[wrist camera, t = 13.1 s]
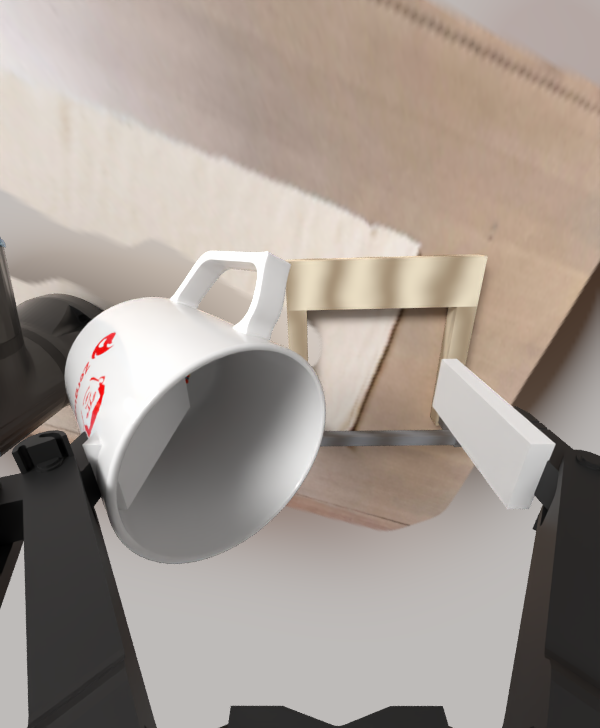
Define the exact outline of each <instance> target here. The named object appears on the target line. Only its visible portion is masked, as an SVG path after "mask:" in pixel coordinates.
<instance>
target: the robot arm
mask: <svg viewBox="0 0 600 728" xmlns="http://www.w3.org/2000/svg"><path fill="white" fill-rule="evenodd" d="M4 247H6V245H5V243H4V241H3V240H2V239H1V238H0V457H1V456H2V455H3V454H5V453H6V452H7V451H8V450H9V449H11V448H12V447H13V446H15V445H16V444H17V443H19V442H20V441H21V440H22V439H24V438H25V437H26V436H27V435H29V434H30V433H31V432H33V431H34V430H35V429H37V428H38V427H39V426H40V425H42V424H43V423H44V422H46V421H47V420H48V419H49V418H51V417H52V416H53V415H55V414H56V413H57V412H58V411H60V410H61V409H62V408H64V407H65V406H68V405H70V402H69V399H68V396H67V392H66V387H65V377H64V376H65V366H66V360H67V357H68V354H69V351H70V349H71V347H72V345H73V343H74V341H75V339H76V338H77V336H78V335H79V333H80V332H81V331H82V330H83V328H84V327H85V326H86V325H87V324H88V323H89V322H90V321H91V320H93V319H94V318H95V317H96V316H97V315H99V314H100V313H102V311H101V310H100V309H98V308H97V307H95V306H94V305H92V304H91V303H89V302H87V301H85V300H82V299H80V298H77V297H74V296H70V295H65V294H48V295H44V296H40V297H36V298H33V299H30V300H27V301H25V302H23V303H21V304H20V305H18V306H17V307H16V302H15V298H14V293H13V288H12V284H11V279H10V274H9V270H8V265H7V260H6V257H5V251H4ZM432 406H433V408H434V409H435V410H436V412H437V413H438V415H439V416H440V417H441V419H442V420H443V421H444V423H445V424H446V426H447V427H448V428H449V430H450V431H451V433H452V434H453V435H454V437H455V438H456V439H457V441H458V442H459V444H460V445H461V446H462V448H463V449H464V451H465V452H466V453H467V455H468V456H469V457H470V459H471V460H472V462H473V463H474V464H475V466H476V467H477V469H478V470H479V471H480V473H481V474H482V475H483V477H484V478H485V480H486V481H487V482H488V484H489V485H490V486H491V488H492V489H493V491H494V492H495V493H496V495H497V496H498V498H499V499H500V500H501V502H502V503H503V505H504V506H505V507H506V509H529V508H530V505H531V503H532V500H533V498H534V496H536V497H537V498H538V500H539V501H540V502H541V503H542V504H543V506H542V508H541V511H540V513H539V515H538V518H537V520H536V522H535V524H534V527H533V529H534V530H536V536H535V542H534V548H533V554H532V559H531V566H530V571H529V578H528V583H527V589H526V595H525V601H524V608H523V612H522V618H521V624H520V630H519V636H518V642H517V648H516V654H515V660H514V665H513V671H512V677H511V683H510V689H509V695H508V701H507V707H506V713H505V718H504V723H503V727H502V728H600V456H598V455H596V454H593V453H591V452H587V451H582V450H573V449H572V448H571V447H570V446H568V445H567V444H566V443H565V442H563V441H562V440H561V439H560V438H559V437H557V436H556V435H555V434H554V433H553V432H551V431H550V430H547V427H545V426H544V425H543V424H542V423H539V421H538V420H537V419H536V418H535V417H533V416H532V415H531V414H530V413H528V412H526V411H524V410H522V409H520V408H518V407H516V406H515V407H512V406H511V405H510V404H509V403H507V402H506V401H505V400H504V399H503V398H502V397H501V396H499V395H498V394H497V393H496V392H495V391H494V390H492V389H491V388H490V387H489V386H488V385H487V384H485V383H484V382H483V381H482V380H481V379H480V378H479V377H477V376H476V375H475V374H474V373H473V372H472V371H470V370H469V369H468V368H467V367H466V366H465V365H463V364H462V363H461V362H460V361H459V360H458V359H442V360H441V365H440V370H439V375H438V380H437V385H436V390H435V395H434V400H433V405H432ZM189 408H190V404H189V398H188V392H187V386H186V381H185V378H184V379H182V380H181V381H180V382H178V383H177V384H176V385H175V386H174V387H173V388H171V389H170V390H169V391H168V392H167V393H166V394H165V395H164V396H163V397H162V398H161V399H160V400H159V401H158V402H157V403H156V404H155V406H154V407H153V408H152V409H151V410H150V411H149V413H148V414H147V415H146V417H145V418H144V420H143V421H142V422H141V424H140V425H139V427H138V429H137V430H136V432H135V434H134V435H133V437H132V439H131V441H130V443H129V445H128V447H127V450H126V452H125V455H124V457H123V460H122V463H121V467H120V471H119V475H118V482H117V505H118V508H119V509H128V508H129V506H130V505H131V503H132V501H133V500H134V498H135V496H136V495H137V493H138V491H139V490H140V488H141V487H142V485H143V483H144V482H145V480H146V478H147V477H148V475H149V473H150V472H151V470H152V468H153V467H154V465H155V463H156V462H157V460H158V459H159V457H160V455H161V454H162V452H163V450H164V449H165V447H166V445H167V444H168V442H169V440H170V439H171V437H172V435H173V434H174V432H175V431H176V429H177V427H178V426H179V424H180V422H181V421H182V419H183V417H184V416H185V414H186V412H187V411H188V409H189ZM101 446H102V444H101V442H100V439H99V437H98V435H97V432H95V433H94V434H93V435H92V436H91V437H90V438H89V439H88V437H87V434H86V432H83V433H82V434H81V435H80V436H79V437H78V438H77V439H76V440H74V441H73V442H72V443H71V444H70V443H69V440H68V438H67V435H66V434H65V433H64V432H63V431H58V430H55V431H46V432H42V433H38V434H36V435H33V436H31V437H28V438H27V439H25V440H23V441H22V442H20V443H19V444H18V445H17V446H15V447H14V449H13V451H12V454H13V457H14V459H15V461H16V463H17V465H18V467H19V469H20V471H21V473H20V474H15V475H10V476H5V477H1V478H0V608H1V605H2V602H3V599H4V596H5V593H6V590H7V587H8V585H9V582H10V579H11V576H12V573H13V570H14V567H15V564H16V561H17V559H18V556H19V553H20V550H21V546H22V544H23V541H24V560H25V596H26V597H25V599H26V635H27V674H28V707H29V708H28V711H29V719H28V727H27V728H157V727H156V724H155V720H154V717H153V714H152V710H151V706H150V703H149V699H148V696H147V692H146V689H145V685H144V682H143V678H142V674H141V671H140V667H139V664H138V661H137V657H136V653H135V649H134V646H133V642H132V639H131V636H130V632H129V628H128V625H127V621H126V617H125V614H124V610H123V607H122V603H121V600H120V596H119V593H118V589H117V585H116V582H115V578H114V575H113V571H112V568H111V564H110V561H109V557H108V554H107V550H106V546H105V543H104V539H103V535H102V532H101V528H100V525H99V521H98V518H97V514H96V511H95V509H94V506H95V504H96V503H97V501H98V500H99V499H100V497H101V494H100V491H99V488H98V483H97V477H96V465H97V459H98V454H99V452H100V449H101ZM101 498H102V497H101ZM102 501H103V500H102ZM103 504H104V502H103ZM104 507H105V505H104ZM105 509H106V508H105ZM220 728H452V727H450V726H448V722H447V719H446V716H445V712H444V709H443V706H390V707H387V708H385V709H382V710H380V711H377V712H375V713H372V714H370V715H368V716H365V717H363V718H360V719H358V720H355V721H353V722H350V723H348V724H345V725H342V726H334V725H331V724H328V723H326V722H323V721H320V720H318V719H315V718H313V717H310V716H307V715H305V714H302V713H300V712H297V711H295V710H292V709H289V708H287V707H284V706H231V709H230V716H229V723H228V724H227V725H225V726H222V727H220Z"/></svg>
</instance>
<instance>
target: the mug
mask: <svg viewBox="0 0 600 728" xmlns="http://www.w3.org/2000/svg"><path fill="white" fill-rule="evenodd" d="M290 267H291V264H290V263H289V262H287V261H285V260H283V259H281V258H279V257H277V256H276V255H274V254H272V253H270V252H268V251H266V252H232V251H208V252H206V253H204V254H203V255H202V256H201V257H200V258H199V259H198V260H197V262H196V263H195V265H194V266H193V268H192V269H191V271H190V272H189V274H188V275H187V277H186V278H185V280H184V281H183V283H182V284H181V286H180V287H179V289H178V290H177V291H176V293H175V294H174V295H173V296H172V297H171V298H163V297H144V298H137V299H132V300H128V301H125V302H122V303H119V304H117V305H115V306H112V307H110V308H109V309H107V310H105V311H103V312H102V313H100V314H99V315H97V316H96V317H95V318H94V319H93V320H91V321H90V322H89V323H88V324H87V325H86V326H85V327H84V328H83V330H82V331H81V332H80V333H79V335H78V336H77V338H76V339H75V341H74V343H73V345H72V347H71V349H70V351H69V354H68V357H67V360H66V366H65V376H64V377H65V387H66V392H67V396H68V399H69V402H70V405H71V408H72V411H73V414H74V417H75V420H76V423H77V426H78V428H79V431H80V434H82V433H83V432H86V434H87V437H88V439H89V438H90V437H91V436H92V435H93V434H94V433H95V432H97V435H98V437H99V439H100V442H101V444H102V446H101V449H100V452H99V454H98V459H97V465H96V477H97V483H98V488H99V491H100V494H101V497H102V500H103V502H104V505H105V508H106V511H107V514H108V517H109V520H110V523H111V526H112V527H113V530H114V531H115V533H116V535H117V537H118V538H119V539H120V540H121V542H122V543H123V544H124V545H125V546H126V547H127V548H129V549H130V550H131V551H132V552H134V553H135V554H137V555H139V556H141V557H143V558H146V559H148V560H151V561H155V562H159V563H167V564H182V563H190V562H196V561H200V560H203V559H207V558H210V557H213V556H216V555H218V554H221V553H223V552H225V551H228V550H229V549H231V548H233V547H235V546H237V545H239V544H240V543H242V542H244V541H245V540H247V539H248V538H250V537H251V536H253V535H254V534H255V533H257V532H258V531H259V530H261V529H262V528H263V527H264V526H265V525H266V524H268V523H269V522H270V521H271V520H272V519H273V518H274V517H275V516H276V515H277V514H278V513H279V512H280V511H281V510H282V509H283V508H284V507H285V506H286V504H287V503H288V502H289V501H290V500H291V498H292V497H293V496H294V495H295V493H296V492H297V490H298V489H299V487H300V486H301V485H302V483H303V481H304V480H305V478H306V476H307V475H308V473H309V471H310V469H311V467H312V465H313V463H314V461H315V458H316V456H317V453H318V451H319V448H320V445H321V441H322V437H323V433H324V427H325V419H326V404H325V396H324V392H323V388H322V385H321V382H320V380H319V378H318V376H317V374H316V372H315V371H314V369H313V368H312V366H311V365H310V364H309V363H308V362H307V361H306V360H305V359H304V358H303V357H302V356H300V355H299V354H297V353H296V352H294V351H292V350H290V349H288V348H286V347H284V346H282V345H279V344H277V343H275V342H273V341H270V338H271V333H272V330H273V328H274V326H275V324H276V322H277V321H278V318H279V317H280V314H281V311H282V307H283V303H284V297H285V290H286V283H287V278H288V274H289V270H290ZM229 269H238V270H247V271H256V272H257V282H256V288H255V292H254V296H253V300H252V303H251V305H250V308H249V310H248V312H247V314H246V315H245V317H244V318H243V319H242V320H241V321H240V322H239V323H238V324H236V325H234V324H232V323H230V322H227V321H225V320H223V319H220V318H218V317H216V316H214V315H212V314H209V313H207V312H205V311H202V310H200V309H198V305H199V303H200V302H201V300H202V299H203V297H204V296H205V295H206V293H207V292H208V291H209V289H210V288H211V287H212V285H213V284H214V283H215V282H216V280H217V279H218V278H219V276H220V275H221V274H222V273H224V272H225V271H226V270H229ZM184 378H185V381H186V386H187V392H188V398H189V404H190V408H189V409H188V411H187V412H186V414H185V416H184V417H183V419H182V421H181V422H180V424H179V426H178V427H177V429H176V431H175V432H174V434H173V435H172V437H171V439H170V440H169V442H168V444H167V445H166V447H165V449H164V450H163V452H162V454H161V455H160V457H159V459H158V460H157V462H156V463H155V465H154V467H153V468H152V470H151V472H150V473H149V475H148V477H147V478H146V480H145V482H144V483H143V485H142V487H141V488H140V490H139V491H138V493H137V495H136V496H135V498H134V500H133V501H132V503H131V505H130V506H129V508H128V509H119V508H118V505H117V482H118V475H119V471H120V467H121V463H122V460H123V457H124V455H125V452H126V450H127V447H128V445H129V443H130V441H131V439H132V437H133V435H134V434H135V432H136V430H137V429H138V427H139V425H140V424H141V422H142V421H143V420H144V418H145V417H146V415H147V414H148V413H149V411H150V410H151V409H152V408H153V407H154V406H155V404H156V403H157V402H158V401H159V400H160V399H161V398H162V397H163V396H164V395H165V394H166V393H167V392H168V391H169V390H170V389H171V388H173V387H174V386H175V385H176V384H177V383H178V382H180V381H181V380H182V379H184Z"/></svg>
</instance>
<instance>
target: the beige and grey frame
mask: <svg viewBox="0 0 600 728" xmlns="http://www.w3.org/2000/svg"><path fill="white" fill-rule="evenodd" d="M487 257H488V256H483V255H477V254H475V255H439V256H403V257H367V258H331V259H295V260H286V261H287V262H289V263H290V264H291V267H290V270H289V274H288V278H287V283H286V296H287V318H288V338H289V349H290V350H292V351H294V352H296V353H297V354H299V355H300V356H302V357H303V358H304V359H305V360H306V361H307V362H308V350H307V310H343V309H387V308H430V307H448V311H447V317H446V323H445V329H444V335H443V341H442V347H441V353H440V359H439V365H438V371H437V377H436V383H435V389H434V395H435V390H436V385H437V380H438V375H439V370H440V365H441V360H442V359H458V360H459V361H460V362H461V363H462V364H463V365H465V364H466V359H467V354H468V349H469V345H470V340H471V335H472V330H473V325H474V320H475V315H476V310H477V305H478V301H479V296H480V291H481V286H482V281H483V276H484V271H485V266H486V262H487ZM434 395H433V400H434ZM432 405H433V401H432ZM430 417H431V419H432V420H433V422H434V423H435V425H436V426H441V428H442V429H443V430H401V431H324V433H323V437H322V441H321V445H320V446H404V445H453V446H454V447H462V446H461V445H460V444H459V442H458V441H457V439H456V438H455V437H454V435H453V434H452V433H451V431H450V430H449V428H448V427H447V426H446V424H445V423H444V421H443V420H442V419H441V417H440V416H439V415H438V413H437V412H436V410H435V409H434V408H433V406H432V407H431V413H430Z"/></svg>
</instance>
